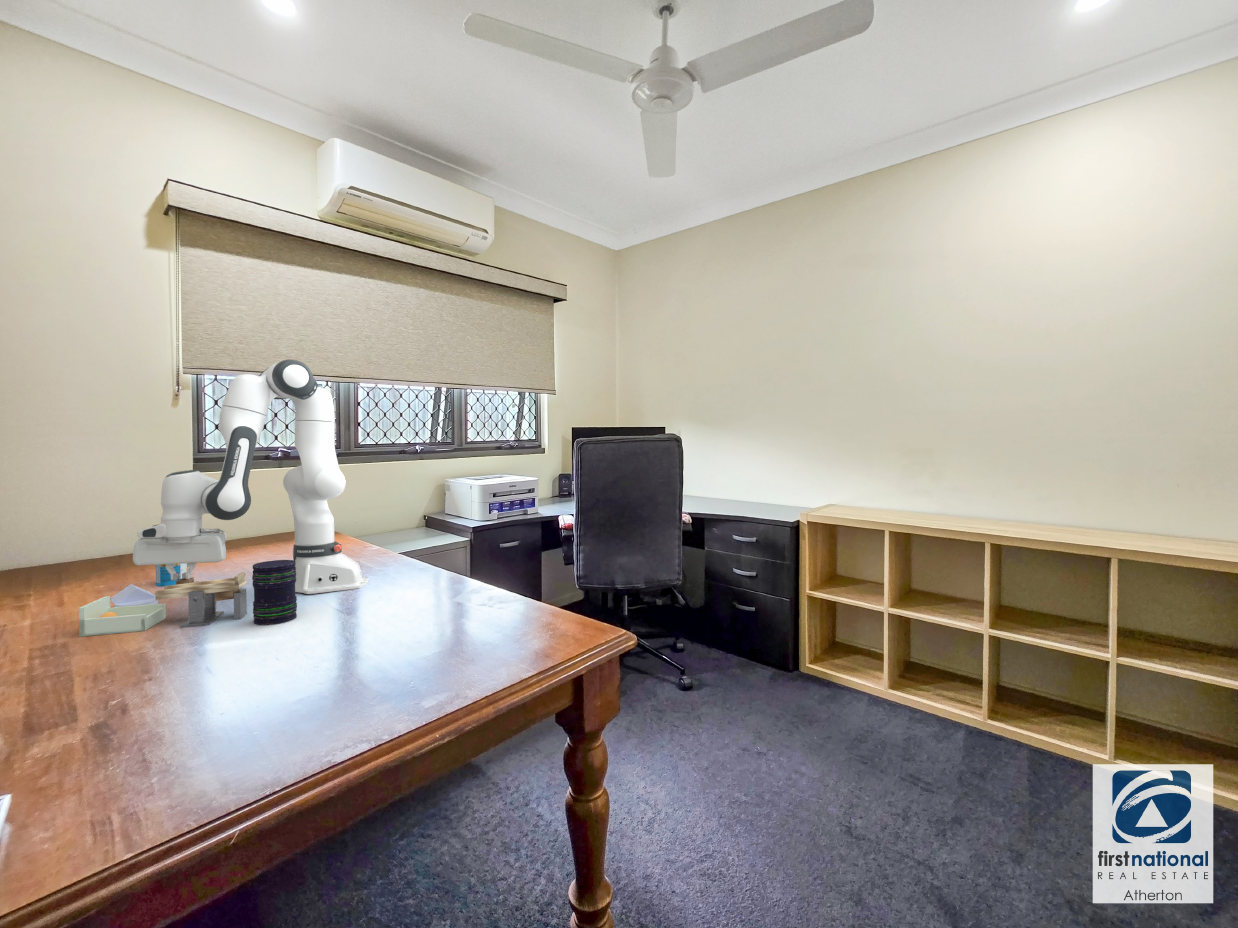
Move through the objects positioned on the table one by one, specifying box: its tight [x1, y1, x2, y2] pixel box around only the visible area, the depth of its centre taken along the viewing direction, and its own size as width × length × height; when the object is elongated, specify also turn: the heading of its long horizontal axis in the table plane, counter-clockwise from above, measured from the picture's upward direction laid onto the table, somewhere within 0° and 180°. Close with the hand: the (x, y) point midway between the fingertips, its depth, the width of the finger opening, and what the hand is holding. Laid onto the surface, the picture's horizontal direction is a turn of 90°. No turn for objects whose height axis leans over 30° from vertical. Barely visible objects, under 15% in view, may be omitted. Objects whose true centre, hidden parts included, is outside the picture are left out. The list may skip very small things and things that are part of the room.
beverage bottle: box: [155, 563, 188, 587], centre depth 178 cm, size 8×8×20 cm
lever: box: [154, 571, 247, 602], centre depth 146 cm, size 18×15×6 cm
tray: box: [78, 595, 167, 638], centre depth 137 cm, size 13×11×7 cm
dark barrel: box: [251, 559, 298, 626], centre depth 142 cm, size 10×10×15 cm
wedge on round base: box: [110, 583, 159, 607], centre depth 150 cm, size 9×7×13 cm
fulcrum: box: [179, 588, 248, 629], centre depth 143 cm, size 12×11×9 cm
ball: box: [100, 612, 118, 618], centre depth 136 cm, size 4×4×4 cm
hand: (180, 579), depth 148 cm, fingers closed
